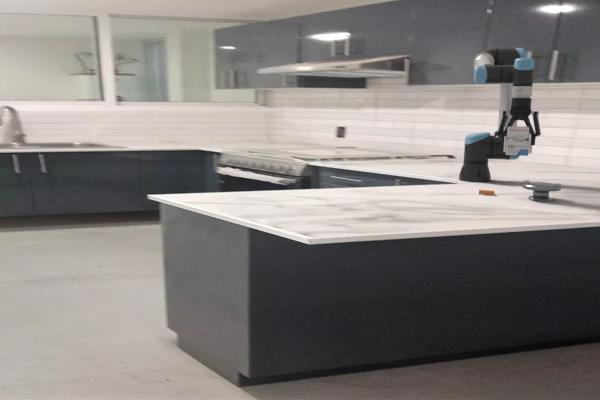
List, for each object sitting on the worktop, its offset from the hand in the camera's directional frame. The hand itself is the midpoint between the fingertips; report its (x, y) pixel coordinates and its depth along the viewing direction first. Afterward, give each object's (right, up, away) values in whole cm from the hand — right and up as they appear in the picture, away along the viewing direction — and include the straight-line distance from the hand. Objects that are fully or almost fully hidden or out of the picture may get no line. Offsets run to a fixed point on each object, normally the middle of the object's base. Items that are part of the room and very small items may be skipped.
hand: (517, 152), depth 221 cm
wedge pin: (-11, -18, +6) cm, 22 cm away
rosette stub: (+8, -19, -4) cm, 21 cm away
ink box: (0, -1, 0) cm, 1 cm away
